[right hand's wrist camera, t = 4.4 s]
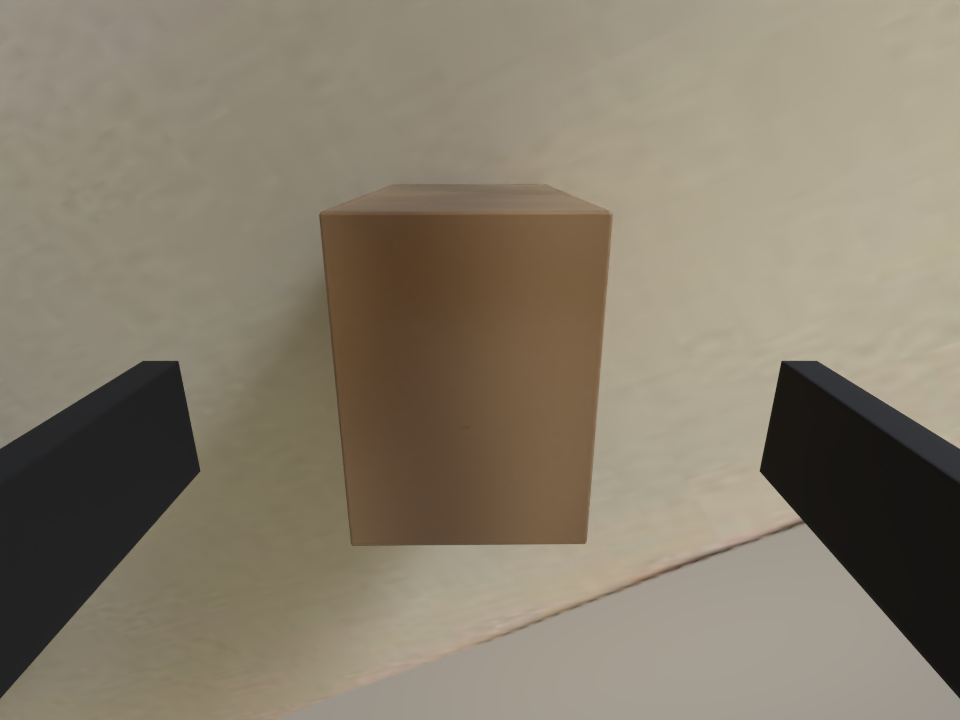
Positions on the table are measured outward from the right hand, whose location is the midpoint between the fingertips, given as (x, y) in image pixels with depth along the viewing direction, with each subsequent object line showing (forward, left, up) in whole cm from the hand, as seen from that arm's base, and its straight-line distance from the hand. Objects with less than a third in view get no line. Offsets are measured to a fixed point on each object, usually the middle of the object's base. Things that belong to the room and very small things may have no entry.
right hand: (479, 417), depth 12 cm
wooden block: (0, 0, -12) cm, 12 cm away
